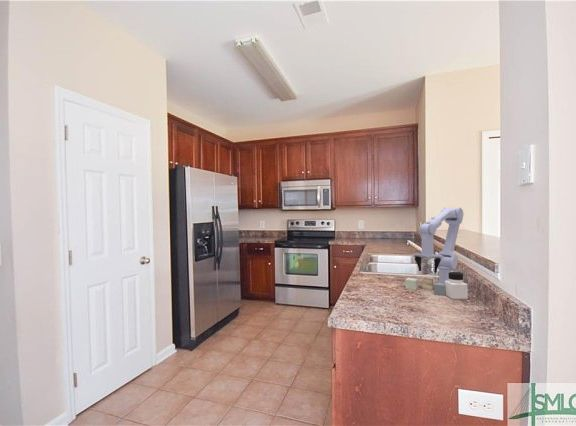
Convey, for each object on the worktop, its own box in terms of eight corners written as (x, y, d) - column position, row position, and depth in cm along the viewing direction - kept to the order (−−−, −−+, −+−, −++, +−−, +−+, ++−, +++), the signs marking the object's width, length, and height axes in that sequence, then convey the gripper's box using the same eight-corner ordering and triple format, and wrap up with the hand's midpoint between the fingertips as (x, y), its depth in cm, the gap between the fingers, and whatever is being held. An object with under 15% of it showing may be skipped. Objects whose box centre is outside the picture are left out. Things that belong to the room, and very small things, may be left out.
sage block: (408, 286, 154) (408, 277, 154) (417, 288, 151) (417, 278, 151) (405, 288, 150) (405, 279, 150) (415, 290, 147) (415, 280, 147)
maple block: (424, 286, 153) (424, 277, 153) (433, 288, 150) (433, 278, 151) (422, 288, 150) (422, 279, 150) (431, 290, 147) (431, 280, 147)
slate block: (433, 292, 143) (433, 282, 143) (443, 293, 141) (443, 283, 141) (434, 294, 139) (434, 284, 139) (444, 295, 137) (444, 285, 137)
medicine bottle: (468, 299, 131) (467, 273, 131) (452, 299, 131) (452, 273, 131) (459, 294, 138) (458, 270, 138) (444, 294, 138) (444, 270, 138)
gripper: (411, 246, 152) (411, 271, 152) (441, 247, 143) (441, 274, 143) (414, 244, 157) (415, 269, 157) (443, 246, 148) (444, 272, 148)
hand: (427, 271), depth 150 cm, fingers open, 7 cm apart
